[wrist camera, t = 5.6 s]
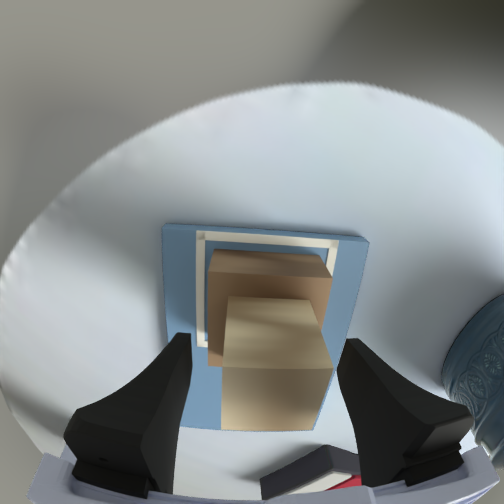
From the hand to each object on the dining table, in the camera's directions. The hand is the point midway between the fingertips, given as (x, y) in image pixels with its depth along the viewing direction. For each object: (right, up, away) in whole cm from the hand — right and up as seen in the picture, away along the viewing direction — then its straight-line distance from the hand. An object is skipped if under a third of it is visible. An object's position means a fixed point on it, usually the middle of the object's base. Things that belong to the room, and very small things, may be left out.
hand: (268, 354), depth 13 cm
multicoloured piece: (+9, -24, +17) cm, 31 cm away
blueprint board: (-1, -2, +8) cm, 8 cm away
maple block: (0, +1, +2) cm, 2 cm away
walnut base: (0, +2, +5) cm, 5 cm away
